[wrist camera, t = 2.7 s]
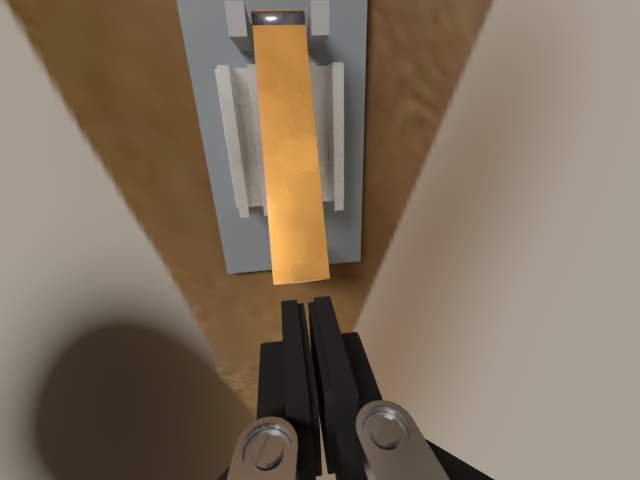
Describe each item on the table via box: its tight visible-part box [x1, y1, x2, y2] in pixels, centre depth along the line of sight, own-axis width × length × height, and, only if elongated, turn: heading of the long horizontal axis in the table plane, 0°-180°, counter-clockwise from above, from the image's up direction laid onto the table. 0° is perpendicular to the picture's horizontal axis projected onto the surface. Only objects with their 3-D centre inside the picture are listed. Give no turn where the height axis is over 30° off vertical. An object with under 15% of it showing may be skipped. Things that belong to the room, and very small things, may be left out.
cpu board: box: [177, 0, 367, 285], centre depth 23 cm, size 24×13×7 cm, turn 2°
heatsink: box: [215, 62, 344, 218], centre depth 23 cm, size 10×9×4 cm
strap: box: [251, 10, 330, 284], centre depth 17 cm, size 16×3×1 cm, turn 1°
